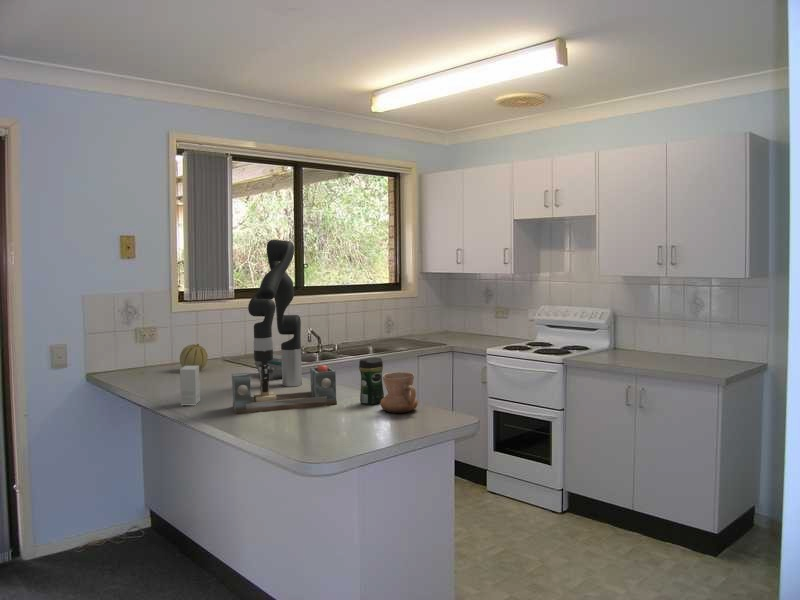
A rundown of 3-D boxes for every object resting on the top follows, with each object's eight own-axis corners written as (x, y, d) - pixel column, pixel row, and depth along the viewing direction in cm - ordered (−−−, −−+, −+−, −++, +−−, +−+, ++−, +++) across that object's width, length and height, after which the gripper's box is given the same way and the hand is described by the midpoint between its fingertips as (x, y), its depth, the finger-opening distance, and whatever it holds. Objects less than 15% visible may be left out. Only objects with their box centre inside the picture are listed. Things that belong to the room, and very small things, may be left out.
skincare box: (185, 402, 269) (183, 365, 268) (201, 401, 270) (199, 365, 269) (180, 406, 261) (178, 369, 260) (196, 406, 262) (195, 368, 261)
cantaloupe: (183, 369, 353) (182, 342, 352) (210, 368, 355) (209, 341, 354) (177, 374, 339) (175, 346, 338) (205, 373, 340) (204, 345, 339)
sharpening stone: (254, 374, 332) (253, 354, 331) (267, 372, 337) (267, 352, 337) (278, 381, 313) (278, 359, 313) (292, 378, 318) (292, 357, 318)
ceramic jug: (371, 409, 249) (370, 373, 248) (401, 403, 258) (400, 368, 256) (398, 419, 235) (397, 381, 233) (429, 412, 243) (428, 375, 242)
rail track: (232, 406, 259) (231, 373, 259) (329, 397, 272) (328, 366, 272) (235, 414, 246) (234, 379, 245) (336, 404, 259) (336, 371, 258)
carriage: (253, 401, 259) (253, 376, 258) (273, 399, 262) (272, 375, 261) (256, 405, 252) (255, 380, 251) (276, 403, 254) (275, 378, 253)
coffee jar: (375, 399, 267) (374, 355, 266) (387, 402, 261) (386, 357, 260) (356, 403, 261) (355, 358, 260) (367, 406, 255) (366, 360, 254)
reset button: (317, 375, 265) (316, 365, 265) (326, 374, 266) (326, 364, 266) (319, 376, 261) (318, 367, 261) (328, 376, 263) (328, 366, 262)
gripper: (251, 347, 261) (253, 388, 262) (255, 351, 247) (257, 395, 248) (270, 345, 263) (271, 387, 264) (275, 350, 250) (276, 393, 251)
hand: (264, 390), depth 256 cm, fingers closed on carriage, 3 cm apart
